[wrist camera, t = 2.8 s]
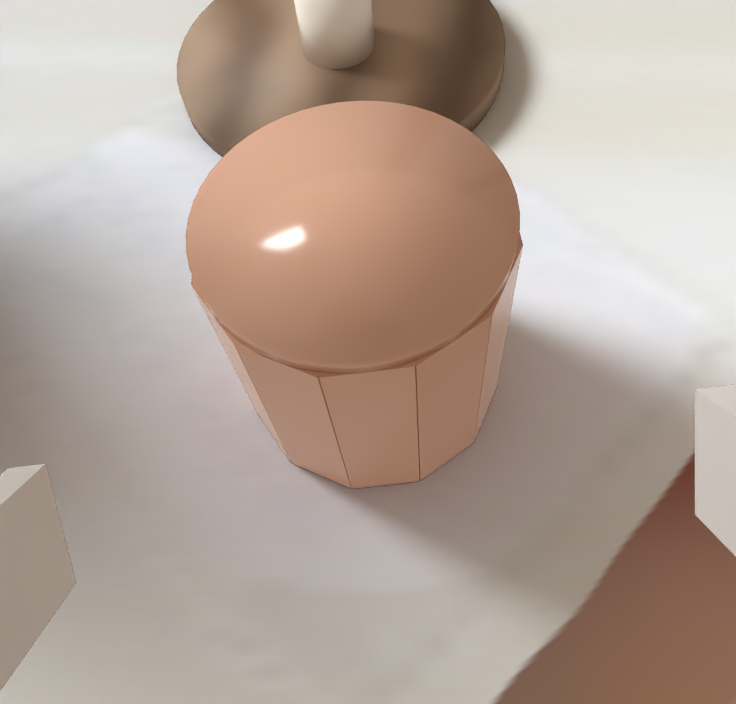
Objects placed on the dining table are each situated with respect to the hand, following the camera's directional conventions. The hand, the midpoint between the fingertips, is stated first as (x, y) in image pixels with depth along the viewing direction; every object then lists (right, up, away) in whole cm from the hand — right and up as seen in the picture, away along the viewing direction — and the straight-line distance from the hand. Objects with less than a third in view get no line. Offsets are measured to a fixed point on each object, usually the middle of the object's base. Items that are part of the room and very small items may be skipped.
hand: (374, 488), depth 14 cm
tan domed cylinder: (0, +2, +18) cm, 18 cm away
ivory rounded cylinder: (-2, +21, +28) cm, 35 cm away
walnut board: (-2, +21, +29) cm, 36 cm away
